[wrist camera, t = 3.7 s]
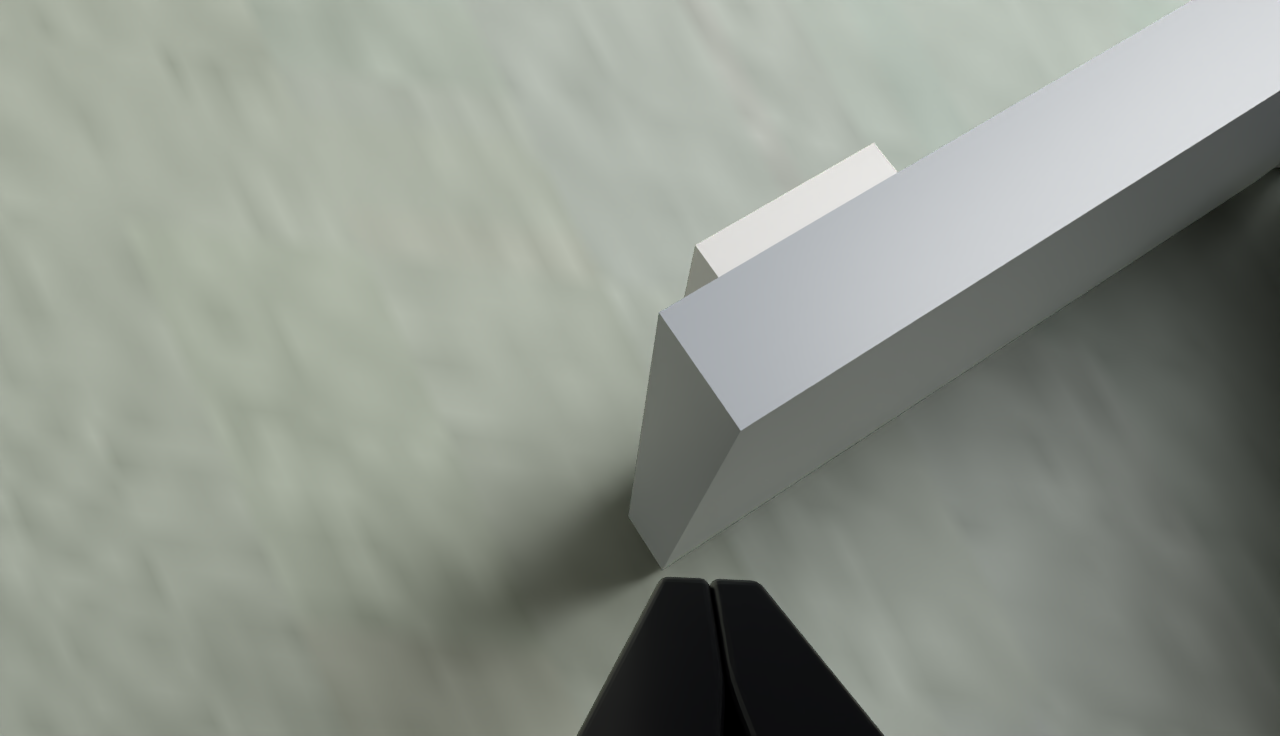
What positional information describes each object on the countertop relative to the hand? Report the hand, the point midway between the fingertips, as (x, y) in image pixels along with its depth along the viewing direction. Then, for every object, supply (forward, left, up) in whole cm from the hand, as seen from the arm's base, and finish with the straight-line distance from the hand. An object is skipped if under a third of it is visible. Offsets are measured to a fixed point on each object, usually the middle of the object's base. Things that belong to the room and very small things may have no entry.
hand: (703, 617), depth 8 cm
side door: (+3, -7, -6) cm, 10 cm away
